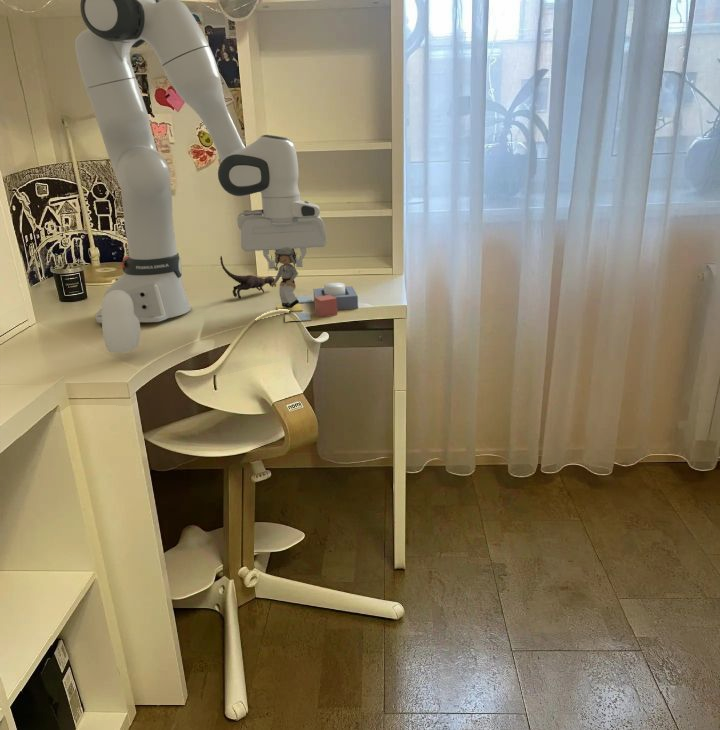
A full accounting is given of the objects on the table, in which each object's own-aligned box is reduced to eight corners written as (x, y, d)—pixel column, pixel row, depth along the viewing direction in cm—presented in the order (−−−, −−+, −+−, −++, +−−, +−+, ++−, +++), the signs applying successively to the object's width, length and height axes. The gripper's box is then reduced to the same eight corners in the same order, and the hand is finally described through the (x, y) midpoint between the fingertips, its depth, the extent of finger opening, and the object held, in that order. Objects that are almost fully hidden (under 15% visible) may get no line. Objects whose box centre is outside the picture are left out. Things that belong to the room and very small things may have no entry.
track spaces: (284, 322, 151) (284, 321, 151) (281, 295, 175) (281, 294, 175) (349, 317, 153) (349, 316, 153) (338, 291, 177) (338, 290, 177)
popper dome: (325, 304, 162) (324, 288, 160) (323, 298, 167) (323, 283, 165) (346, 302, 162) (346, 286, 161) (344, 297, 167) (343, 282, 166)
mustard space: (277, 313, 159) (277, 311, 159) (276, 306, 164) (276, 305, 164) (302, 311, 160) (302, 310, 160) (301, 304, 165) (300, 303, 165)
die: (321, 317, 155) (320, 300, 153) (315, 313, 158) (314, 297, 157) (337, 314, 156) (336, 298, 155) (330, 310, 160) (329, 294, 158)
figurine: (145, 340, 142) (137, 286, 138) (135, 352, 135) (126, 295, 131) (112, 342, 142) (102, 287, 138) (100, 354, 135) (89, 296, 131)
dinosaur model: (279, 284, 178) (254, 236, 169) (247, 309, 173) (220, 261, 164) (270, 282, 181) (246, 234, 172) (239, 307, 176) (212, 259, 167)
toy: (270, 306, 162) (264, 245, 157) (286, 301, 166) (281, 241, 161) (290, 311, 158) (286, 248, 152) (307, 305, 162) (302, 244, 156)
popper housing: (316, 310, 160) (316, 298, 158) (313, 300, 169) (313, 288, 168) (357, 307, 161) (357, 295, 160) (352, 297, 170) (352, 286, 169)
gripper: (236, 212, 149) (241, 272, 154) (326, 208, 152) (328, 267, 157) (237, 209, 155) (242, 267, 160) (323, 204, 158) (326, 262, 163)
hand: (286, 267), depth 158 cm, fingers closed on toy, 5 cm apart
